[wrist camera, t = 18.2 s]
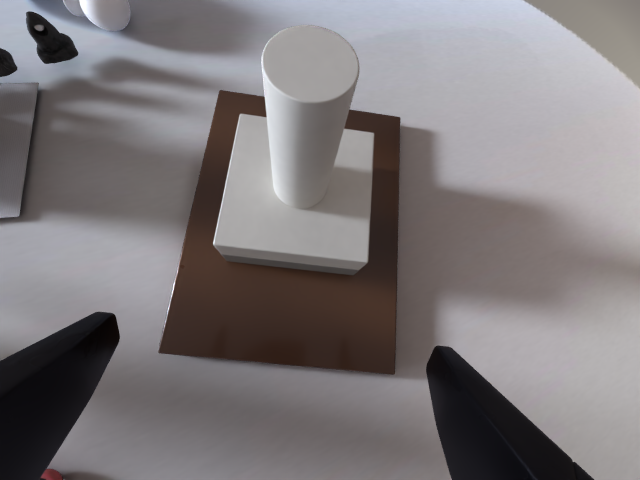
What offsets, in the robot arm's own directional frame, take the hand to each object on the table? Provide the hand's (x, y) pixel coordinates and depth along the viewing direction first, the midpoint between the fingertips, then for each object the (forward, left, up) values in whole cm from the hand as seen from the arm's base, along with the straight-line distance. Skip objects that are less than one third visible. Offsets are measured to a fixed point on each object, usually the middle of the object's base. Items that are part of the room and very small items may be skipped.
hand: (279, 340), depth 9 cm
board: (+4, -5, -8) cm, 11 cm away
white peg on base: (+5, -6, -7) cm, 10 cm away
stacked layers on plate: (+21, +7, -8) cm, 24 cm away
